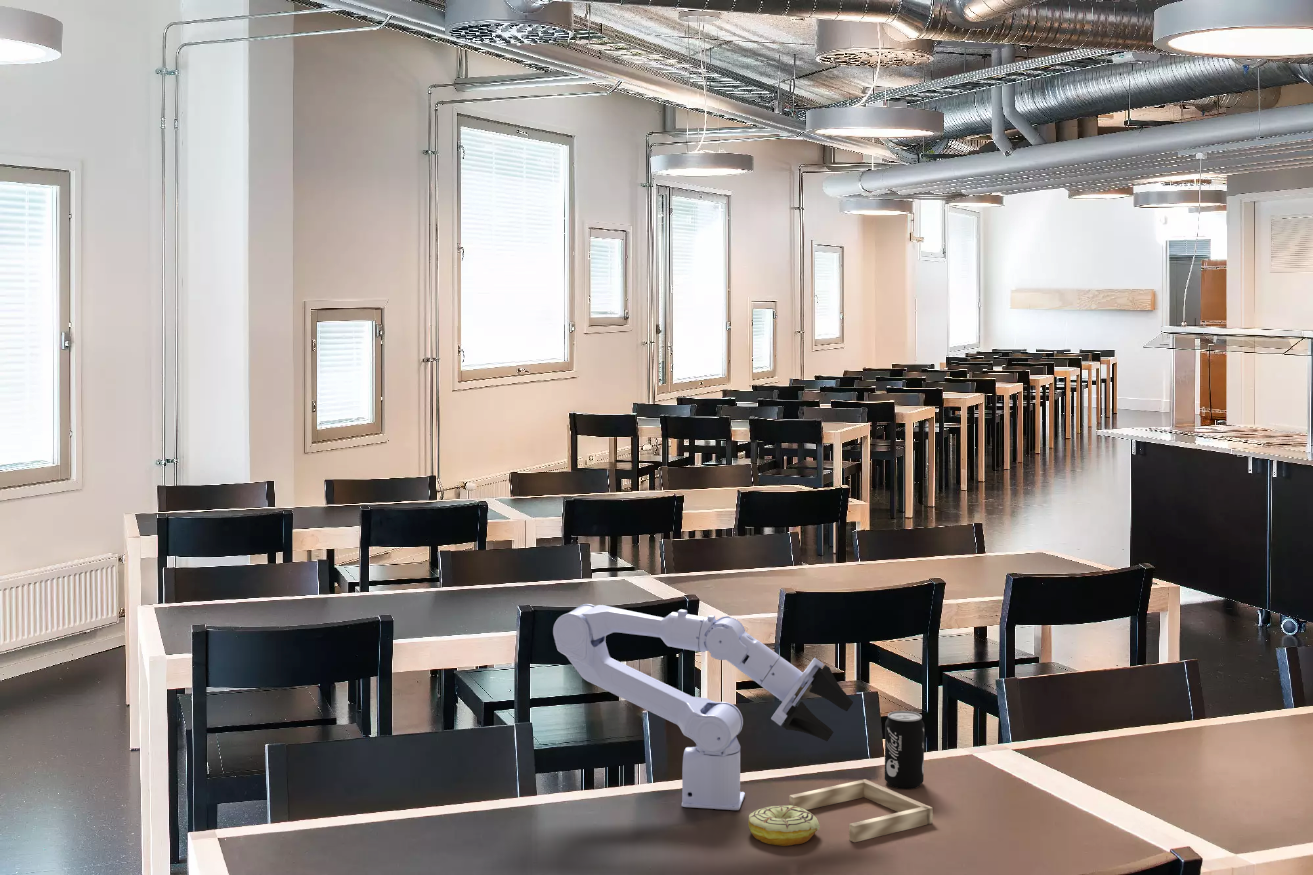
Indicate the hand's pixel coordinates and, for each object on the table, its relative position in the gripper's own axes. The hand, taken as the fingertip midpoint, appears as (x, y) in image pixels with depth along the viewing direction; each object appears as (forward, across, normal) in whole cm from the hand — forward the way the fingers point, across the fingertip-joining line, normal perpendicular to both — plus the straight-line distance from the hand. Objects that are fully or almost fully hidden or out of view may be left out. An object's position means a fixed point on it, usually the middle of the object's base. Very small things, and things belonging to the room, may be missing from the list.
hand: (840, 721), depth 219 cm
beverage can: (+15, +11, +16) cm, 25 cm away
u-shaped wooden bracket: (+11, -6, +9) cm, 15 cm away
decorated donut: (+3, -19, +8) cm, 21 cm away
